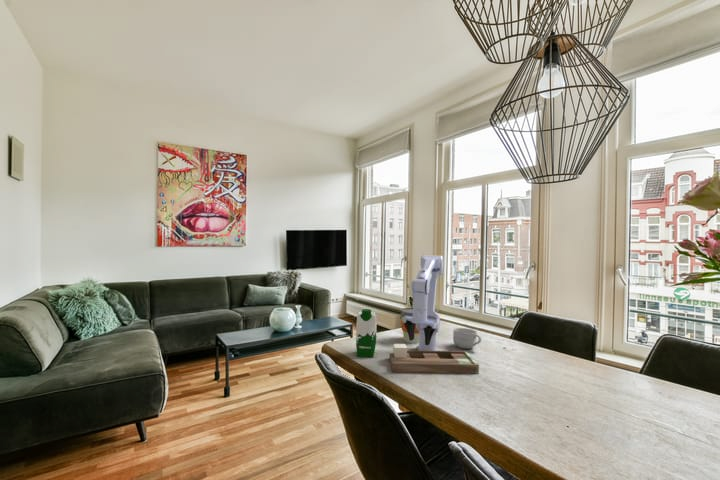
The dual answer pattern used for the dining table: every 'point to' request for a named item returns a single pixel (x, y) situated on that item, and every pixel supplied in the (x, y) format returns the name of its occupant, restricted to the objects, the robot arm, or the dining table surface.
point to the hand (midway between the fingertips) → (419, 342)
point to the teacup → (465, 337)
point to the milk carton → (366, 333)
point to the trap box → (435, 362)
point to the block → (400, 351)
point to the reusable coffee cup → (405, 334)
